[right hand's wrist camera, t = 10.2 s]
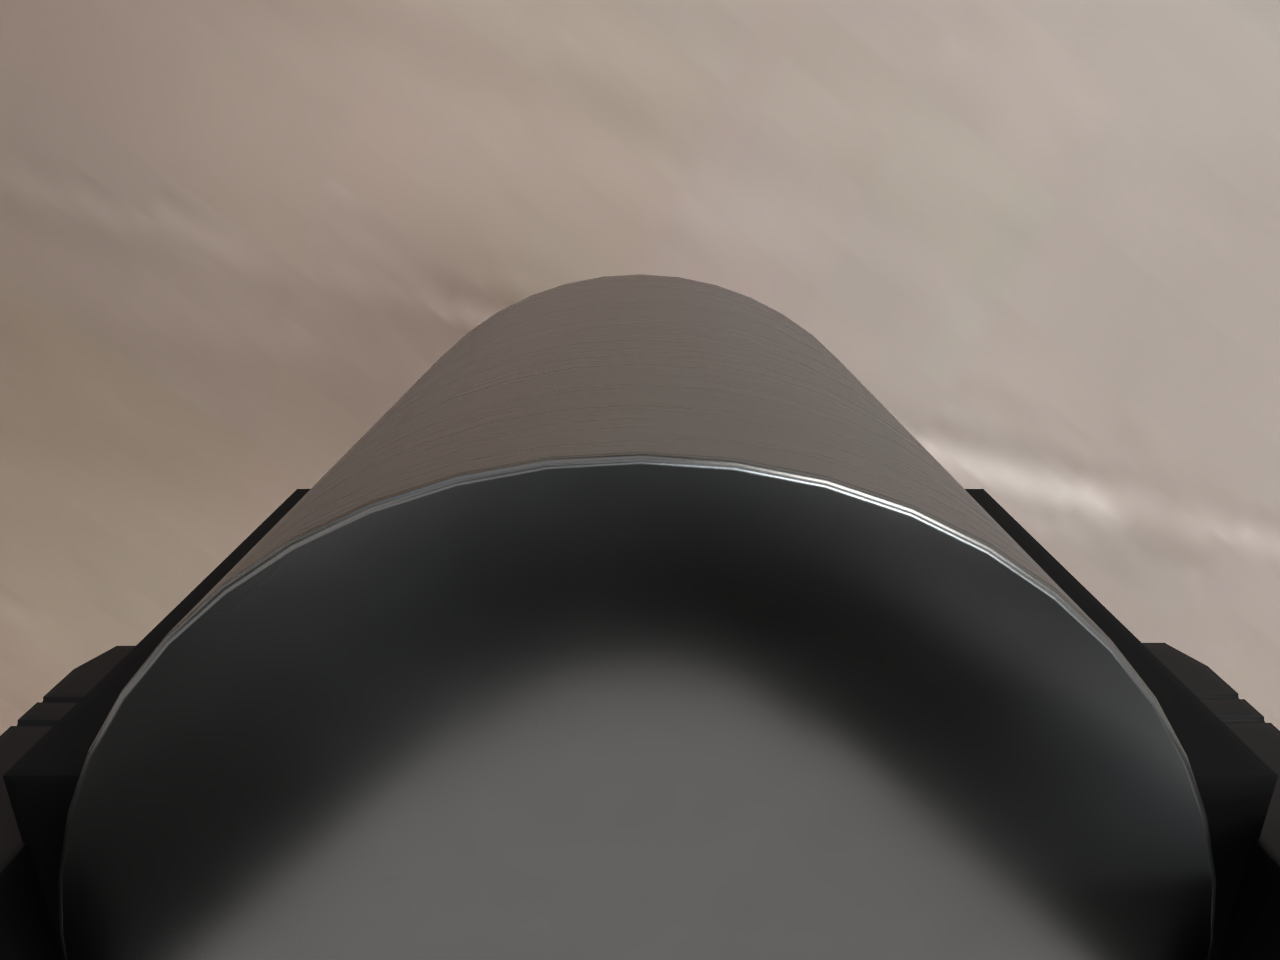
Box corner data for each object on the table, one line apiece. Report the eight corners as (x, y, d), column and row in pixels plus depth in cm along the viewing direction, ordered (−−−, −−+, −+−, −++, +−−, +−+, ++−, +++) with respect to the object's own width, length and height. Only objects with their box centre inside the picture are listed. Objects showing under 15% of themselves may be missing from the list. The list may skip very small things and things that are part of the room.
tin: (436, 776, 17) (241, 1369, 8) (321, 311, 14) (-151, 542, 5) (904, 728, 16) (1170, 1301, 8) (893, 239, 13) (1294, 371, 5)
